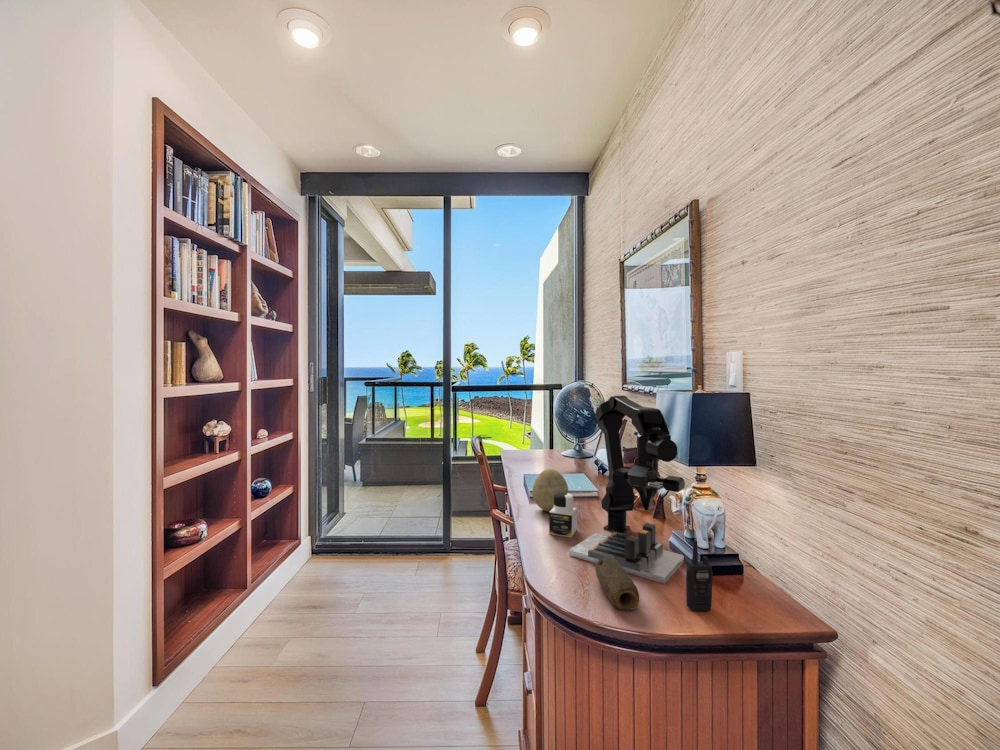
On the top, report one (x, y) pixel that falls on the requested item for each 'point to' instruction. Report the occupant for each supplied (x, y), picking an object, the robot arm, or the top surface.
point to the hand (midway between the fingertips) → (646, 510)
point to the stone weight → (617, 583)
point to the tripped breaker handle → (644, 541)
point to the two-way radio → (698, 582)
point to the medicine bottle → (563, 516)
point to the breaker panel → (649, 571)
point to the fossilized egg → (548, 488)
